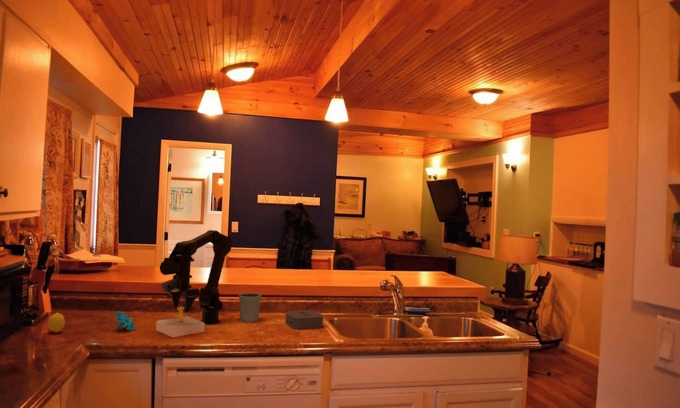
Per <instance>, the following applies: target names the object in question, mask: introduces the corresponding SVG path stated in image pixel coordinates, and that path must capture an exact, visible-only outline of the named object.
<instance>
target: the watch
mask: <svg viewBox="0 0 680 408" xmlns="http://www.w3.org/2000/svg"><path fill="white" fill-rule="evenodd" d="M176 309H177V310H178V318H179V322H183V317H184V310H185V306H178V307H177V308H176Z"/></svg>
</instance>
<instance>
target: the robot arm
mask: <svg viewBox="0 0 680 408" xmlns="http://www.w3.org/2000/svg"><path fill="white" fill-rule="evenodd" d="M209 243H211V244H212V251H213V253H214V256H213V259H212V263H211V267H210V270H209V274H208V278H207V283H206V285H205V286H204V287H201V288H200V289H199V288H196V287H192V285H191V284H190V282H191V279H192V278H193V275H191V262H195V258H193V257H192V256H193V255H194V254H195V253H197V250H198V249H200V248H202V247H203V246H205V245H208V244H209ZM233 243H234V241H233V240H232V238H231V237H230V236H227V235H225V234H223V233H221V232H220V231H219V230H215V229H214V230H213V229H212V230H211V229H208V230H207V231H206V232H204V233H202V234H200V235H198V236H196V237H195V238H192V239H190V240H182V241H178V242H176V243H175V246H174V247H173V249H172V251H171V253H170V255H169V256H168V257H164V259H163V261H161V263H160V265H159V271H160V273H161V275H163V276H168V275H169V276H170V275H172V278H171V279H168V280H166V281H164V282H162V283H161V284H160V286H161V289H162V292H164V293H167V294H169V295H170V297H171V301H172V305H173V309H177V307H179V303H180V300H181V298H182V299H183V300H184V301H183V302H184V313H188V312H189V311H190V309H191V308H192V306H193V304H194V302H195V301H196V299H197V298H198V302H199V307H200V309H202V313H201V320H200V321H201V322H203V323H205V324H206V325H213V324H218V323H221V321H220V320H219V319H220V318H219V317H220V316H219V315H220V310H222V309H223V307H224V303H223V302H222V301H221V300H220V292H219V288H218V287H219V283H220V279H221V275H222V271H223V269H224V264H225V263H224V262H225V259H226V257H227V256H228V255H229V253H230V252H231V249H232V248H233Z"/></svg>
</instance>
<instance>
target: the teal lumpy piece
mask: <svg viewBox="0 0 680 408" xmlns="http://www.w3.org/2000/svg"><path fill="white" fill-rule="evenodd" d="M114 315H115V320H117V323H118V325H117V326H116V327H115V328H114V329H115V330H116V331H117V330H119V329H121V328H124V329H125V328H126V330H128V331H131V332H133V331H134V330H135V329H136V326H135V322H133V317H129V315H128V314H125V313H124V312H123V311H119V310H117V312H116V313H115V314H114Z"/></svg>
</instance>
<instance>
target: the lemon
mask: <svg viewBox="0 0 680 408" xmlns="http://www.w3.org/2000/svg"><path fill="white" fill-rule="evenodd" d="M65 323H66V321H65V316H64V315H63V314H62V313H59V312H56V313H53V314H52V315H51V316H50V317H49V319H48V323H47V324H48V325H47V326H48V328H49V330H50V331H51V332H53V333H55V334H58V332H59V331H62V330H63V328H64V327H65Z"/></svg>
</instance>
